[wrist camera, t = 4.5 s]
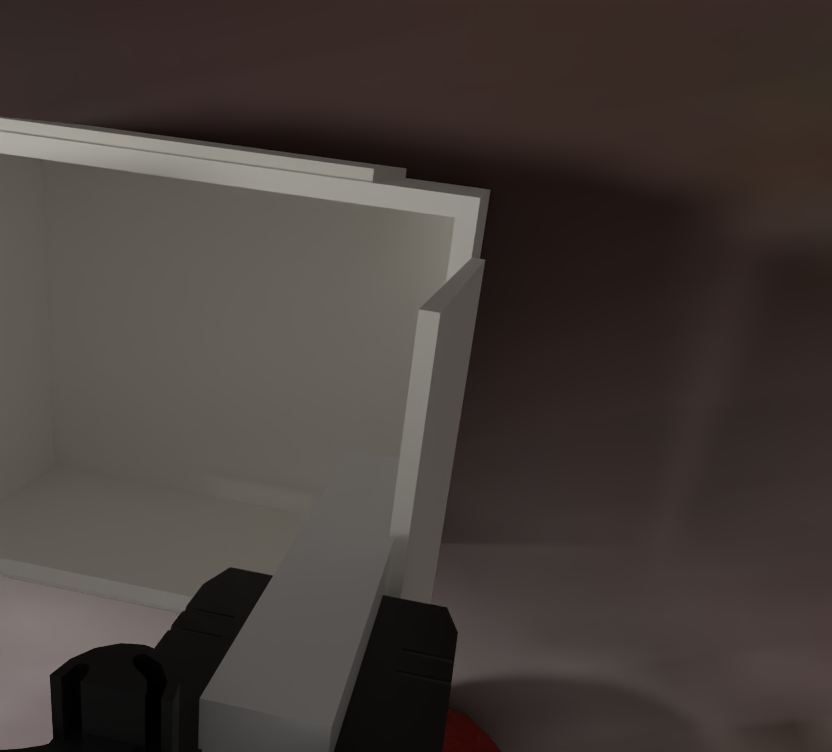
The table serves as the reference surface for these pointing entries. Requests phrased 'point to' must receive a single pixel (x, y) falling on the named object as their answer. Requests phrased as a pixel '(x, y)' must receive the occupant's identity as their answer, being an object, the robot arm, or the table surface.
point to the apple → (465, 735)
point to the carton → (198, 346)
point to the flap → (432, 431)
